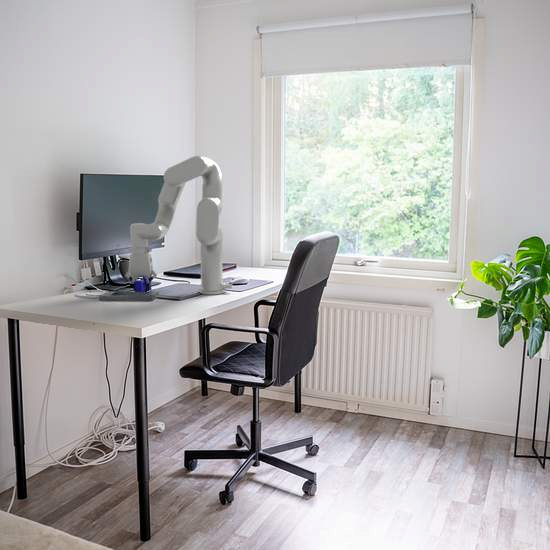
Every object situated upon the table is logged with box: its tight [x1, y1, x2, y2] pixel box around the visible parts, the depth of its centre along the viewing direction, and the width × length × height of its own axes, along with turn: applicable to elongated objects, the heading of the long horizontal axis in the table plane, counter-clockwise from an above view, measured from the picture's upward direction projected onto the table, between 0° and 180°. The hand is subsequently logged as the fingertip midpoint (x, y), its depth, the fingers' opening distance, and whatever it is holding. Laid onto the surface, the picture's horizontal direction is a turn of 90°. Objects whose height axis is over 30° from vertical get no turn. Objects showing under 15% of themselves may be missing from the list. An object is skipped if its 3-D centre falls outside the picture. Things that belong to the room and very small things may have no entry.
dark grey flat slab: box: [98, 291, 160, 302], centre depth 275 cm, size 23×10×2 cm, turn 85°
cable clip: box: [135, 276, 152, 292], centre depth 288 cm, size 12×4×6 cm, turn 171°
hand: (141, 291), depth 288 cm, fingers closed on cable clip, 4 cm apart
